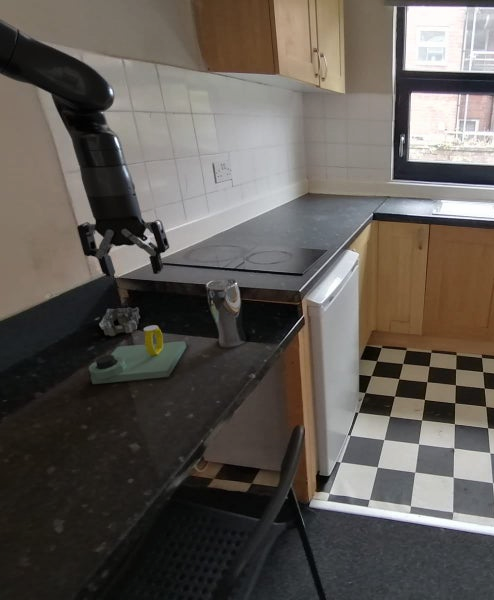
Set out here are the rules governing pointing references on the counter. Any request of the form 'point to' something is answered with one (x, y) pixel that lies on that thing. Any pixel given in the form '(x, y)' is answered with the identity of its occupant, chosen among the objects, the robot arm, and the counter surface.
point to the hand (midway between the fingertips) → (134, 273)
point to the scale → (139, 363)
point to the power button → (105, 361)
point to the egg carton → (120, 320)
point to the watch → (149, 339)
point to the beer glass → (226, 311)
